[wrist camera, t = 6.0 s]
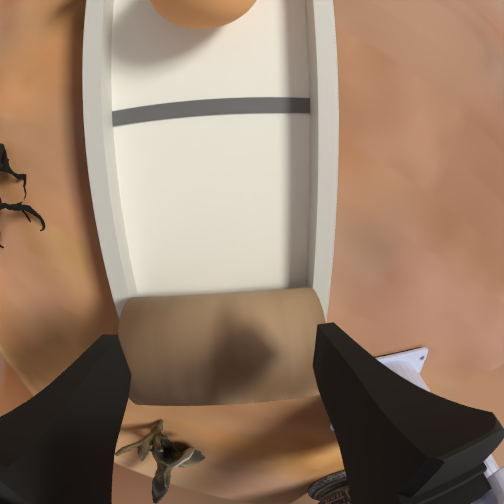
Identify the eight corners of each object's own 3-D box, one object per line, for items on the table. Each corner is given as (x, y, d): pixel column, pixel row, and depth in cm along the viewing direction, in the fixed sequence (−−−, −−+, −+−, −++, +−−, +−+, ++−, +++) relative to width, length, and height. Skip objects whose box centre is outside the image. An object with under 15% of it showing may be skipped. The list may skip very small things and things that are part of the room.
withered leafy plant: (103, 427, 23) (140, 481, 25) (124, 477, 17) (166, 526, 19) (172, 398, 27) (198, 454, 29) (208, 438, 21) (232, 492, 23)
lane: (310, 347, 22) (325, 386, 18) (145, 356, 21) (135, 397, 17) (312, -41, 11) (333, -72, 8) (107, -28, 10) (83, -56, 7)
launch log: (298, 347, 20) (319, 416, 15) (156, 355, 19) (141, 425, 14) (303, 268, 18) (335, 331, 12) (137, 277, 17) (106, 343, 12)
